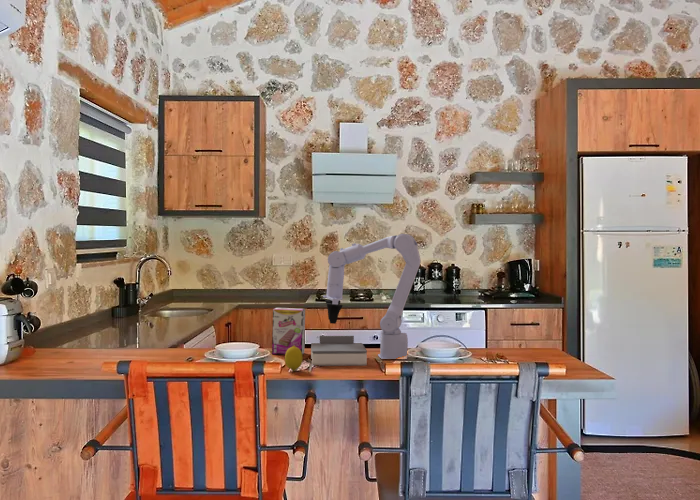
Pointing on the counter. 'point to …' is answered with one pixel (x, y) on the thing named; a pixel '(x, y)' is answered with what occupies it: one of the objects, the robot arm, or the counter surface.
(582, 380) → the counter surface
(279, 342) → the candy bar box
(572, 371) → the counter surface
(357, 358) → the mailer box
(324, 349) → the lid
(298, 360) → the lemon
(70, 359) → the counter surface
